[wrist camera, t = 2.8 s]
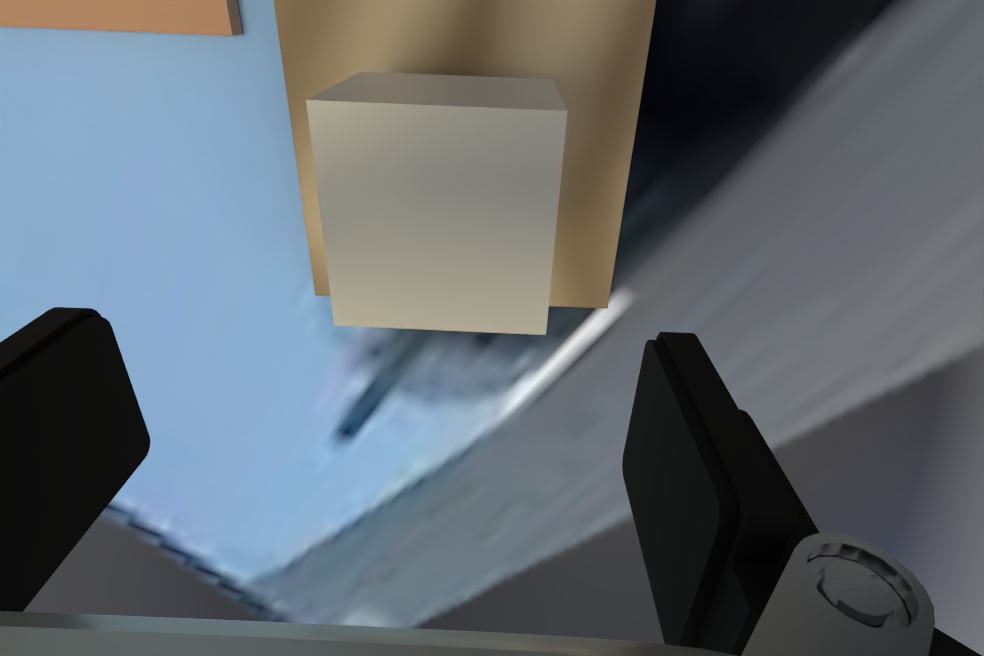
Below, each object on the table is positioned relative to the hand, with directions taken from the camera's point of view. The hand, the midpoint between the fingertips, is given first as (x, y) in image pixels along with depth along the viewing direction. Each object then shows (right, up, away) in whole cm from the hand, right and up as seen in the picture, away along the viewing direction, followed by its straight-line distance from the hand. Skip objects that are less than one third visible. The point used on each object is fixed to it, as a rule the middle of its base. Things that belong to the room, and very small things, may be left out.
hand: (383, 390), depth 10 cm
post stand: (+1, +9, +15) cm, 17 cm away
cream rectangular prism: (+1, +7, +11) cm, 13 cm away
